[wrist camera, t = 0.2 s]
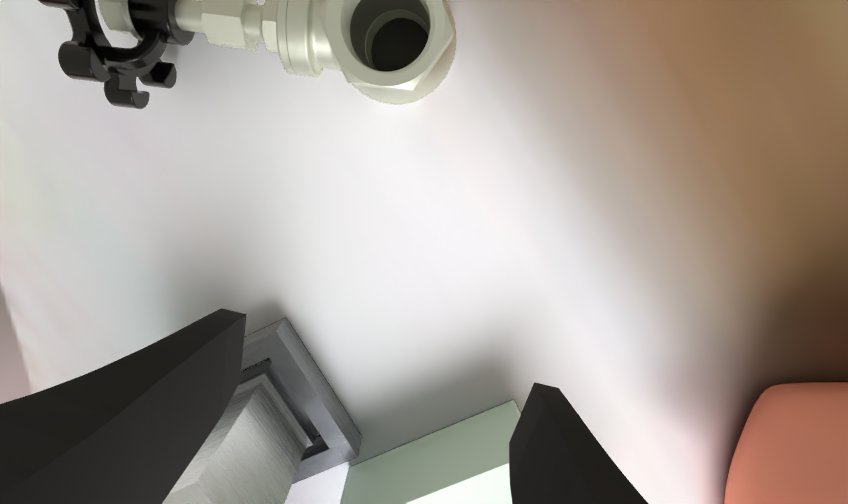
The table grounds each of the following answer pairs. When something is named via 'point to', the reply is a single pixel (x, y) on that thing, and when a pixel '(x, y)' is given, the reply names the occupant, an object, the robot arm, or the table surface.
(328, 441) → the socket
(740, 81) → the table surface
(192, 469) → the strut
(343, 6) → the valve
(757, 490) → the teapot
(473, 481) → the bin
